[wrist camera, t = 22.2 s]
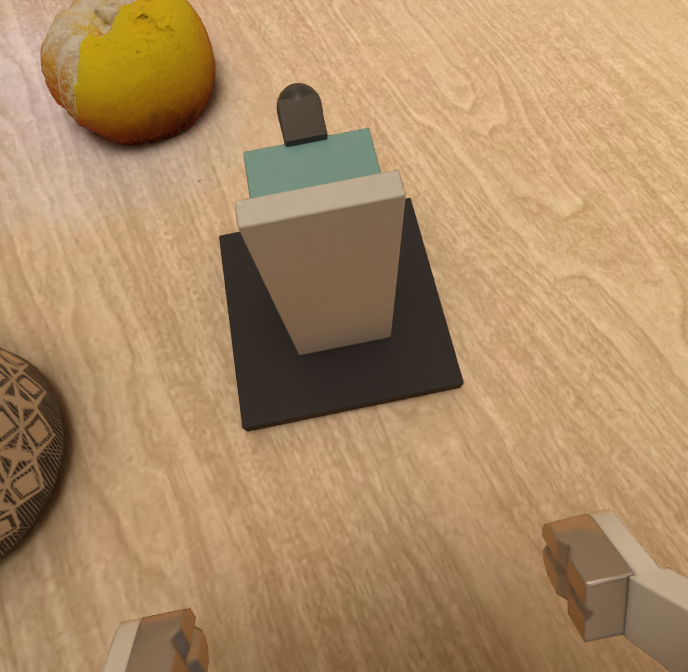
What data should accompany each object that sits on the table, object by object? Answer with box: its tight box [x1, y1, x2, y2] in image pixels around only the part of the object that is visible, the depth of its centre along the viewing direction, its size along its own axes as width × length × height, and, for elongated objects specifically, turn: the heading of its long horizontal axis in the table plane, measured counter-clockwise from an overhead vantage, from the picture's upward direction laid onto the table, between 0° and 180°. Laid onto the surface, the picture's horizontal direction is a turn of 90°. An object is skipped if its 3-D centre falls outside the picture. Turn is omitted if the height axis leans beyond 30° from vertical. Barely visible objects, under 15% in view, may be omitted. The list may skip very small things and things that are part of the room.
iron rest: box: [219, 198, 464, 431], centre depth 28 cm, size 12×12×1 cm
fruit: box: [41, 0, 215, 146], centre depth 32 cm, size 11×10×8 cm
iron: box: [235, 83, 406, 355], centre depth 22 cm, size 8×5×13 cm
